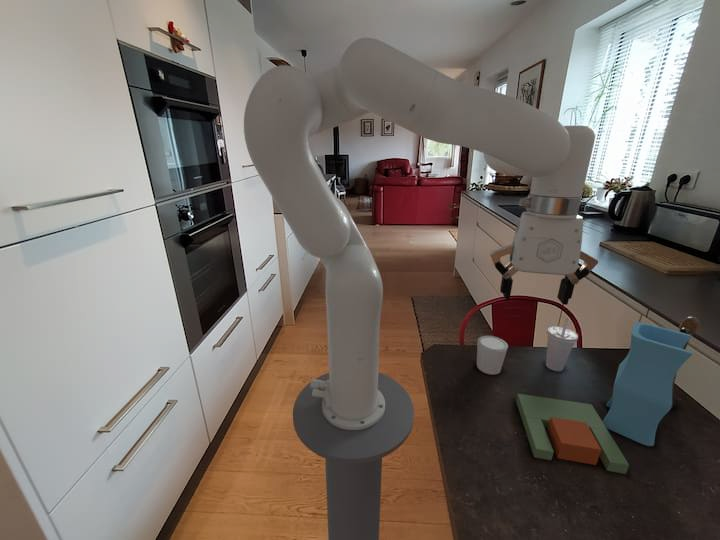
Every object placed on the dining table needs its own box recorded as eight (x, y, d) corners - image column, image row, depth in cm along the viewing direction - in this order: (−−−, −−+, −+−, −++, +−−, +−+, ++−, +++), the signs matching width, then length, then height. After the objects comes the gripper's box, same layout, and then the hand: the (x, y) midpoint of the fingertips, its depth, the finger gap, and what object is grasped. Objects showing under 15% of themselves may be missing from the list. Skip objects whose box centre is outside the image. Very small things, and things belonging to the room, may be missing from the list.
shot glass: (504, 378, 76) (509, 353, 74) (473, 372, 78) (477, 347, 76) (502, 362, 82) (507, 338, 80) (474, 356, 84) (477, 333, 82)
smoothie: (541, 371, 79) (553, 319, 74) (538, 356, 84) (549, 308, 80) (571, 377, 77) (586, 325, 72) (566, 362, 82) (579, 312, 77)
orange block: (557, 458, 56) (561, 443, 55) (546, 431, 62) (550, 416, 60) (596, 465, 55) (601, 449, 54) (581, 437, 60) (586, 422, 59)
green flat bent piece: (533, 457, 56) (536, 448, 56) (515, 401, 69) (517, 393, 68) (626, 474, 53) (629, 465, 53) (589, 412, 66) (591, 404, 66)
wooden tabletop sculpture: (667, 413, 66) (703, 326, 59) (639, 399, 70) (670, 316, 63) (678, 402, 69) (713, 319, 62) (651, 389, 73) (681, 309, 66)
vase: (653, 449, 58) (693, 354, 51) (600, 425, 63) (630, 336, 56) (655, 423, 63) (691, 334, 57) (606, 404, 68) (634, 320, 62)
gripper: (501, 207, 53) (487, 302, 59) (622, 212, 49) (594, 313, 55) (494, 201, 60) (481, 287, 65) (600, 205, 56) (577, 295, 62)
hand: (533, 298), depth 60 cm, fingers open, 9 cm apart
